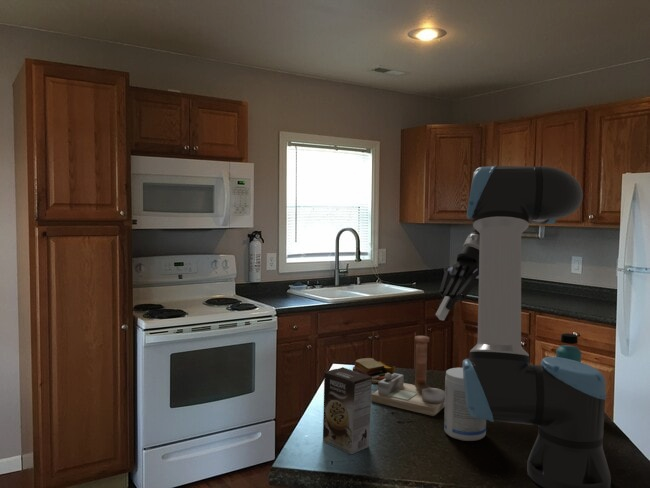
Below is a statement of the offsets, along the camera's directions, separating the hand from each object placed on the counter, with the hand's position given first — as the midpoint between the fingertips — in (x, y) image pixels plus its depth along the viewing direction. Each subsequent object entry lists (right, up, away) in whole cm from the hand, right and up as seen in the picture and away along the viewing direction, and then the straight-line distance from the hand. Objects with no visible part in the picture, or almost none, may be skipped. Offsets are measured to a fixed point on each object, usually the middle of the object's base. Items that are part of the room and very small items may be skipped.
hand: (439, 317), depth 155 cm
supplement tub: (0, -24, -26) cm, 35 cm away
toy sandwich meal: (-17, -21, +16) cm, 31 cm away
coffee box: (-28, -24, -33) cm, 49 cm away
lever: (-5, -20, -6) cm, 21 cm away
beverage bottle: (+33, -23, -7) cm, 41 cm away
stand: (-9, -22, -5) cm, 24 cm away
